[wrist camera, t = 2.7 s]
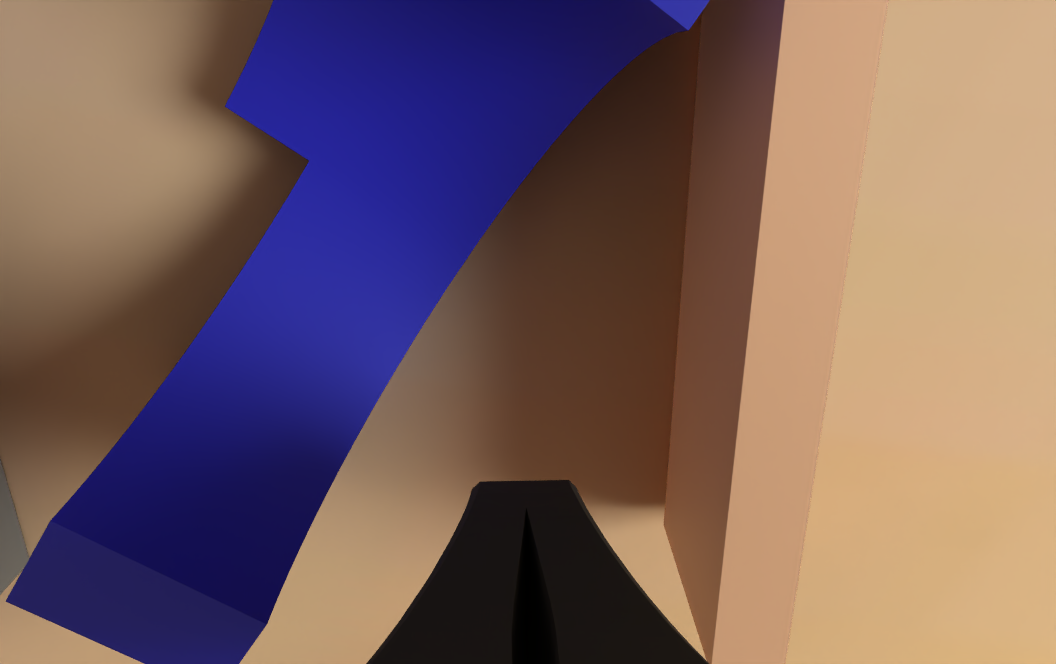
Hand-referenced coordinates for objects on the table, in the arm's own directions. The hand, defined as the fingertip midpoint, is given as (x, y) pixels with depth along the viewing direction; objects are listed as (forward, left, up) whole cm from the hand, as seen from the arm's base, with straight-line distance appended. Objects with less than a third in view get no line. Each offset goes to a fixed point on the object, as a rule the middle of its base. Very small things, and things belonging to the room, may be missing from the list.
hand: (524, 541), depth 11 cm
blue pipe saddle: (+4, +3, -6) cm, 8 cm away
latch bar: (+5, -4, -5) cm, 8 cm away
